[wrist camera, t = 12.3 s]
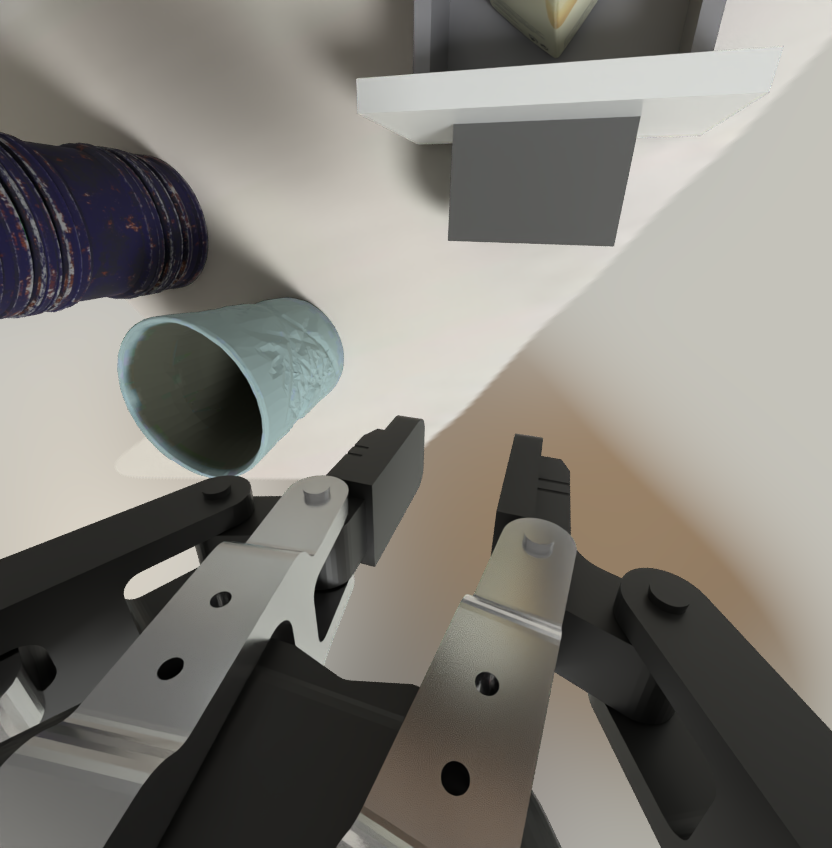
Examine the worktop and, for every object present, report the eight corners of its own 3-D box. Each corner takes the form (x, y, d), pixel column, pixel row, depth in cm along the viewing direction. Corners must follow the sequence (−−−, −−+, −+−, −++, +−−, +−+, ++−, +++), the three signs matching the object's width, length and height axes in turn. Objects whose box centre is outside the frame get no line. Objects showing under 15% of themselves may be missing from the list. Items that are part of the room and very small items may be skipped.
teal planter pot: (228, 305, 35) (87, 341, 25) (328, 268, 31) (209, 293, 21) (277, 415, 38) (171, 487, 28) (374, 395, 34) (291, 471, 24)
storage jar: (225, 284, 34) (20, 322, 21) (137, 295, 37) (-86, 334, 25) (182, 139, 30) (-100, 80, 17) (88, 166, 34) (-207, 132, 21)
